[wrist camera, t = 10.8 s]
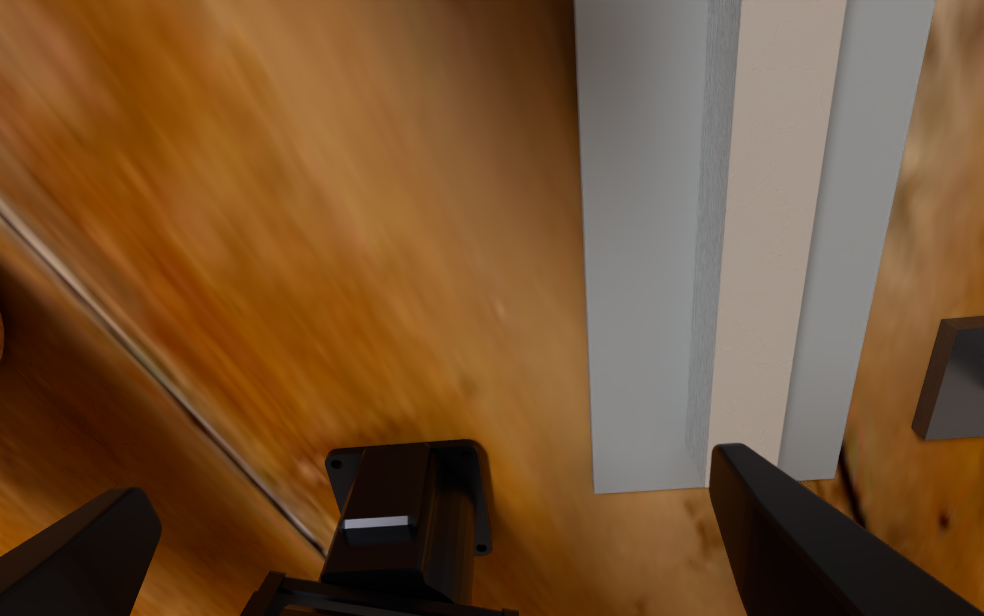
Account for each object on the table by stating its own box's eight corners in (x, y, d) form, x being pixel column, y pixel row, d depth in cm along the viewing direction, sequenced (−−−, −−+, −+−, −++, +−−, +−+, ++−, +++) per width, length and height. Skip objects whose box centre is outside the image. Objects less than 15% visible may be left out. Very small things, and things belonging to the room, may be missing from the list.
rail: (747, 437, 22) (774, 482, 20) (684, 442, 23) (704, 487, 20) (841, -376, 12) (916, -466, 10) (727, -357, 13) (775, -441, 10)
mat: (828, 469, 24) (834, 478, 23) (593, 485, 24) (594, 494, 24) (1038, -565, 11) (1059, -588, 11) (554, -476, 12) (556, -495, 12)
